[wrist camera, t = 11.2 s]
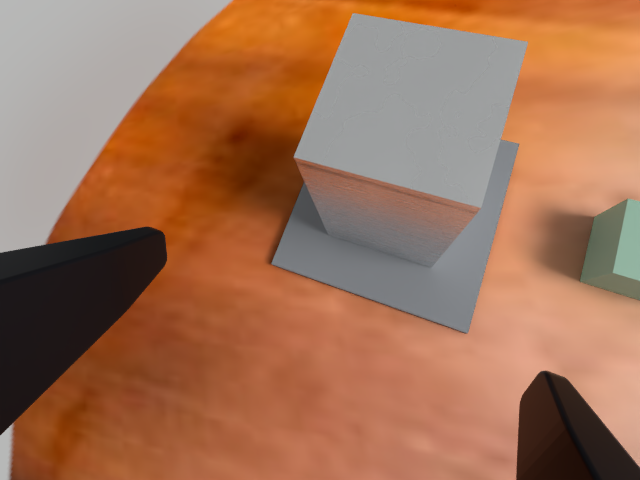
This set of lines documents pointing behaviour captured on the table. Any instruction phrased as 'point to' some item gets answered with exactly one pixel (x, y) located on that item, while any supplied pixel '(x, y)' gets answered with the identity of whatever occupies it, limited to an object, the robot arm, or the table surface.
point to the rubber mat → (395, 273)
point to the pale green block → (615, 250)
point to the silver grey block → (407, 134)
